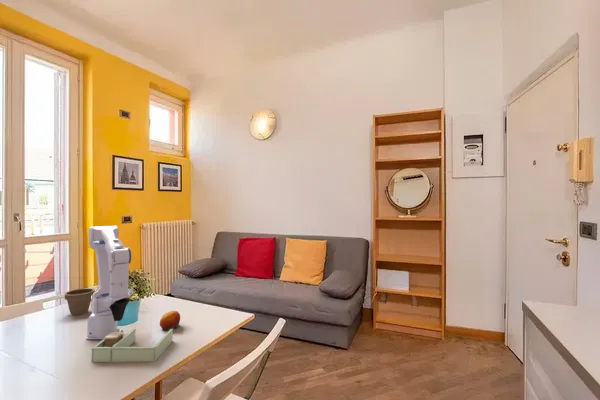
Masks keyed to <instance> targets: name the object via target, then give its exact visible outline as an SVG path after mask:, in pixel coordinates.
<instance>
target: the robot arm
mask: <svg viewBox="0 0 600 400" xmlns="http://www.w3.org/2000/svg"><path fill="white" fill-rule="evenodd" d="M119 234H120V231H119V227H118V225H116V224H115V225H102V226H101V225H100V226H92V225H91V226H90V227H89V228H88V235H87V236H88V244H89V248H90V249H92V250H94V252H95V255H96V256H95V257H96V267H97V268H96V269H97V276H98V289H97V290H96V291H95V293H94V294H93V295H92V299H91V302H90V310H91V313H90V315H89V317H88V320H87V329H86V331H87V332H86V333H87V334H86V335H87V336H86V337H85V340H103V339H104V338H105V337H106V336H107V335H108V334H110V333H111V332H114V331H115V330H117V329H118V322H121V320H123V318H124V314H125V311H126V308H127V306H128V304H129V302H130V297H131V296H132V294H133V288H129V278H130V277H129V276H130V274H129V273H130V271H129V270H130V264H131V262H132V258H133V257H132V256H133V255H132V250H131V248H130V247H125V244H124V243H123V242H122V240H121V239H119ZM119 329H120V328H119ZM119 332H123V329H122V328H121V329H120V331H119Z"/></svg>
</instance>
